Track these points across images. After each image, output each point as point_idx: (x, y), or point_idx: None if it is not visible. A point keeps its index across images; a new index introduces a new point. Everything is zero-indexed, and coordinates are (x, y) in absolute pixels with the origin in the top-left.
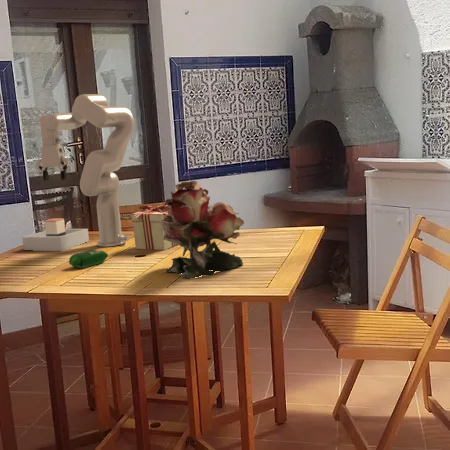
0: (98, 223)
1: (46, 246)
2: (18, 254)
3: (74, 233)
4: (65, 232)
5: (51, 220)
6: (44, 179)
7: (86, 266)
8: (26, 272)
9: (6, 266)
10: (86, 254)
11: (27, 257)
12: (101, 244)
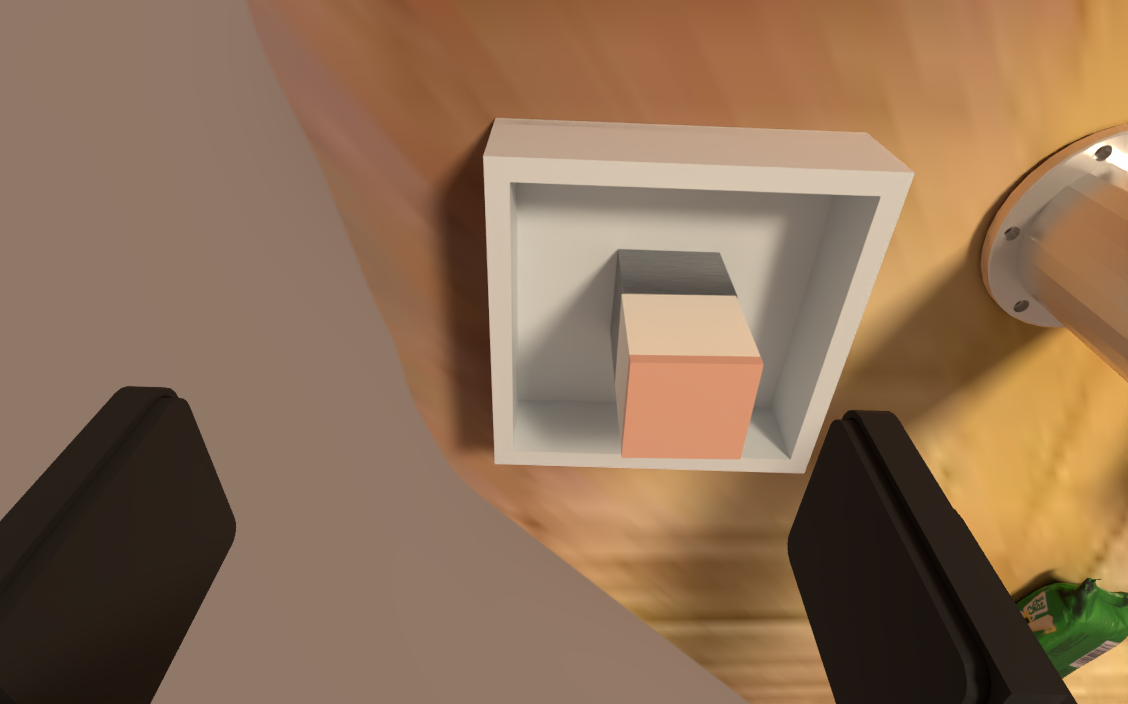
0: (1120, 371)
1: None
2: (546, 476)
3: (848, 346)
4: (735, 294)
5: (694, 457)
6: (218, 556)
7: None
8: (806, 677)
9: (663, 629)
10: (1062, 678)
11: (653, 523)
12: (1037, 325)
